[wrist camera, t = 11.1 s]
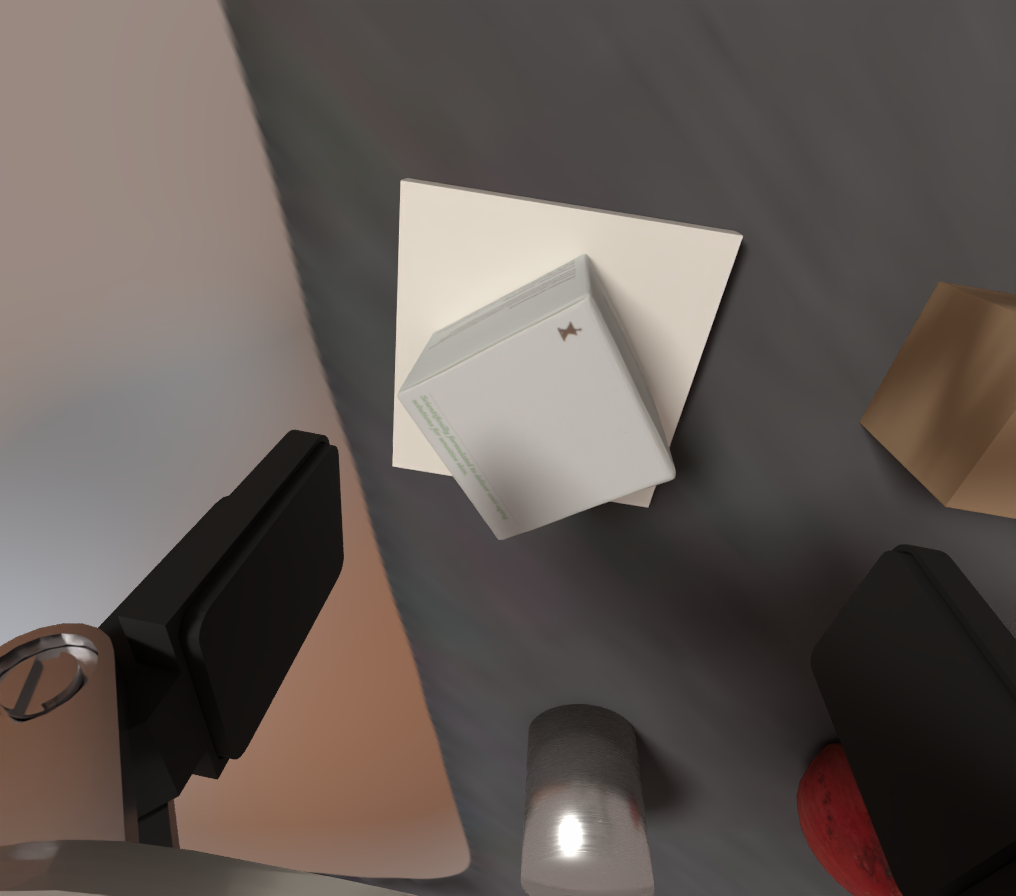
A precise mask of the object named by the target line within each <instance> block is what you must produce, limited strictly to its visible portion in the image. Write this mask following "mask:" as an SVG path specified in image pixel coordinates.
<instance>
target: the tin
mask: <svg viewBox="0 0 1016 896" xmlns="http://www.w3.org/2000/svg"><path fill="white" fill-rule="evenodd" d="M521 885H522V887H523V889H524V890H525V892H526V893H527V894H528V895H529V896H653V894H654V882H653V874H652V866H651V858H650V850H649V842H648V834H647V826H646V817H645V809H644V801H643V793H642V785H641V777H640V769H639V761H638V753H637V745H636V737H635V732H634V729H633V727H632V725H631V724H630V723H629V722H628V721H627V720H626V719H625V718H624V717H622V716H621V715H619V714H617V713H616V712H614V711H611V710H609V709H606V708H602V707H599V706H594V705H586V704H571V705H563V706H559V707H555V708H552V709H549V710H547V711H545V712H543V713H541V714H540V715H539V716H537V717H536V718H535V719H534V720H533V721H532V723H531V725H530V727H529V732H528V750H527V770H526V789H525V809H524V828H523V847H522V867H521Z"/></svg>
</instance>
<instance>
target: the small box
mask: <svg viewBox="0 0 1016 896" xmlns="http://www.w3.org/2000/svg"><path fill="white" fill-rule="evenodd" d="M397 397H398V399H399V401H400V402H401V404H402V405H403V406H404V408H405V409H406V411H407V412H408V414H409V415H410V416H411V418H412V419H413V421H414V422H415V423H416V425H417V426H418V428H419V429H420V431H421V432H422V433H423V435H424V436H425V438H426V439H427V440H428V442H429V443H430V445H431V446H432V447H433V449H434V450H435V452H436V453H437V454H438V456H439V457H440V459H441V460H442V462H443V463H444V464H445V466H446V467H447V469H448V470H449V471H450V473H451V474H452V476H453V477H454V478H455V480H456V481H457V482H458V484H459V485H460V487H461V488H462V489H463V491H464V492H465V493H466V495H467V496H468V498H469V499H470V501H471V502H472V503H473V505H474V506H475V507H476V509H477V510H478V512H479V513H480V514H481V516H482V517H483V519H484V520H485V522H486V523H487V524H488V526H489V527H490V528H491V530H492V531H493V533H494V534H495V536H496V537H497V539H499V540H503V539H506V538H509V537H512V536H515V535H518V534H521V533H524V532H527V531H530V530H533V529H535V528H539V527H541V526H544V525H547V524H549V523H552V522H555V521H557V520H560V519H563V518H565V517H568V516H570V515H573V514H576V513H579V512H581V511H584V510H587V509H589V508H592V507H595V506H597V505H600V504H603V503H606V502H609V501H612V500H615V499H617V498H620V497H623V496H626V495H629V494H632V493H635V492H638V491H641V490H644V489H647V488H650V487H653V486H656V485H659V484H662V483H665V482H668V481H671V480H673V479H674V478H675V476H676V470H675V466H674V463H673V460H672V456H671V452H670V449H669V446H668V442H667V439H666V436H665V433H664V430H663V427H662V424H661V421H660V418H659V415H658V411H657V408H656V405H655V402H654V399H653V396H652V393H651V390H650V388H649V385H648V383H647V380H646V378H645V376H644V373H643V371H642V368H641V366H640V364H639V362H638V359H637V357H636V355H635V353H634V350H633V348H632V346H631V344H630V342H629V339H628V337H627V335H626V333H625V331H624V328H623V326H622V324H621V322H620V320H619V318H618V316H617V314H616V311H615V309H614V307H613V305H612V303H611V301H610V299H609V297H608V295H607V293H606V290H605V288H604V286H603V284H602V282H601V280H600V278H599V276H598V274H597V272H596V270H595V268H594V266H593V264H592V262H591V260H590V258H589V257H588V255H587V254H582V255H580V256H579V257H577V258H575V259H573V260H571V261H569V262H568V263H566V264H564V265H562V266H560V267H558V268H556V269H555V270H553V271H551V272H549V273H547V274H545V275H543V276H541V277H539V278H537V279H536V280H534V281H532V282H530V283H528V284H526V285H524V286H522V287H520V288H518V289H516V290H514V291H513V292H511V293H509V294H507V295H505V296H503V297H501V298H499V299H498V300H496V301H494V302H492V303H490V304H488V305H486V306H484V307H482V308H480V309H478V310H476V311H474V312H472V313H471V314H469V315H467V316H465V317H463V318H461V319H459V320H457V321H455V322H453V323H451V324H449V325H447V326H446V327H444V328H442V329H439V330H437V331H435V332H434V333H433V334H432V336H431V338H430V339H429V341H428V343H427V344H426V346H425V348H424V349H423V351H422V353H421V354H420V356H419V358H418V359H417V361H416V363H415V364H414V366H413V368H412V370H411V371H410V373H409V374H408V376H407V378H406V380H405V381H404V383H403V385H402V386H401V388H400V390H399V392H398V394H397Z"/></svg>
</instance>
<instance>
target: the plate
mask: <svg viewBox="0 0 1016 896" xmlns="http://www.w3.org/2000/svg"><path fill="white" fill-rule="evenodd" d="M742 238H743V235H741V234H739V233H738V232H736V231H731V230H725V229H719V228H713V227H707V226H700V225H694V224H688V223H682V222H676V221H669V220H663V219H657V218H651V217H645V216H639V215H632V214H626V213H620V212H614V211H608V210H602V209H595V208H589V207H583V206H577V205H571V204H565V203H558V202H552V201H546V200H540V199H534V198H527V197H521V196H515V195H509V194H503V193H497V192H490V191H484V190H478V189H472V188H466V187H460V186H453V185H447V184H441V183H435V182H429V181H423V180H416V179H410V178H406V179H403V180H401V189H400V224H399V259H398V294H397V329H396V364H395V398H394V433H393V466H394V467H400V468H406V469H412V470H418V471H425V472H431V473H437V474H443V475H449V476H452V474H451V473H450V471H449V470H448V469H447V467H446V466H445V464H444V463H443V462H442V460H441V459H440V457H439V456H438V454H437V453H436V452H435V450H434V449H433V447H432V446H431V445H430V443H429V442H428V440H427V439H426V438H425V436H424V435H423V433H422V432H421V431H420V429H419V428H418V426H417V425H416V423H415V422H414V421H413V419H412V418H411V416H410V415H409V414H408V412H407V411H406V409H405V408H404V406H403V405H402V404H401V402H400V401H399V399H398V397H397V394H398V392H399V390H400V388H401V386H402V385H403V383H404V381H405V380H406V378H407V376H408V374H409V373H410V371H411V370H412V368H413V366H414V364H415V363H416V361H417V359H418V358H419V356H420V354H421V353H422V351H423V349H424V348H425V346H426V344H427V343H428V341H429V339H430V338H431V336H432V334H433V333H434V332H435V331H437V330H439V329H442V328H444V327H446V326H447V325H449V324H451V323H453V322H455V321H457V320H459V319H461V318H463V317H465V316H467V315H469V314H471V313H472V312H474V311H476V310H478V309H480V308H482V307H484V306H486V305H488V304H490V303H492V302H494V301H496V300H498V299H499V298H501V297H503V296H505V295H507V294H509V293H511V292H513V291H514V290H516V289H518V288H520V287H522V286H524V285H526V284H528V283H530V282H532V281H534V280H536V279H537V278H539V277H541V276H543V275H545V274H547V273H549V272H551V271H553V270H555V269H556V268H558V267H560V266H562V265H564V264H566V263H568V262H569V261H571V260H573V259H575V258H577V257H579V256H580V255H582V254H587V255H588V257H589V258H590V260H591V262H592V264H593V266H594V268H595V270H596V272H597V274H598V276H599V278H600V280H601V282H602V284H603V286H604V288H605V290H606V293H607V295H608V297H609V299H610V301H611V303H612V305H613V307H614V309H615V311H616V314H617V316H618V318H619V320H620V322H621V324H622V326H623V328H624V331H625V333H626V335H627V337H628V339H629V342H630V344H631V346H632V348H633V350H634V353H635V355H636V357H637V359H638V362H639V364H640V366H641V368H642V371H643V373H644V376H645V378H646V380H647V383H648V385H649V388H650V390H651V393H652V396H653V399H654V402H655V405H656V408H657V411H658V415H659V418H660V421H661V424H662V427H663V430H664V433H665V436H666V439H667V442H668V446H669V447H670V444H671V441H672V438H673V435H674V433H675V430H676V427H677V424H678V421H679V418H680V415H681V412H682V410H683V407H684V404H685V401H686V398H687V395H688V392H689V390H690V387H691V384H692V381H693V378H694V375H695V372H696V370H697V367H698V364H699V361H700V358H701V355H702V352H703V349H704V347H705V344H706V341H707V338H708V335H709V332H710V329H711V327H712V324H713V321H714V318H715V315H716V312H717V309H718V306H719V304H720V301H721V298H722V295H723V292H724V289H725V286H726V284H727V281H728V278H729V275H730V272H731V269H732V266H733V264H734V261H735V258H736V255H737V252H738V249H739V246H740V243H741V241H742ZM655 487H656V486H653V487H650V488H647V489H644V490H641V491H638V492H635V493H632V494H629V495H626V496H623V497H620V498H617V499H615V500H612V501H610V502H617V503H623V504H629V505H635V506H641V507H649V504H650V501H651V498H652V496H653V493H654V490H655Z"/></svg>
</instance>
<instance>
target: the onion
mask: <svg viewBox="0 0 1016 896" xmlns="http://www.w3.org/2000/svg"><path fill="white" fill-rule="evenodd" d="M797 809H798V814H799V820H800V825H801V829H802V831H803V833H804V836H805V838H806V840H807V843H808V845H809V847H810V848H811V850H812V851H813V853H814V855H815V856H816V858H817V859H818V861H819V862H820V863H821V864H822V866H823V867H824V868H825V869H826V871H827V872H828V873H829V874H830V875H831V876H832V877H833V878H834V879H835V880H836V881H837V882H838V883H839V884H840V885H842V886H843V887H844V888H845V889H846V890H847V891H849V892H850V893H851V894H852V895H854V896H903V895H902V894H901V892H900V891H899V889H898V887H897V885H896V883H895V880H894V878H893V875H892V873H891V870H890V868H889V865H888V863H887V860H886V857H885V855H884V852H883V850H882V847H881V845H880V842H879V840H878V837H877V834H876V832H875V829H874V827H873V824H872V822H871V819H870V817H869V814H868V811H867V809H866V806H865V804H864V801H863V799H862V796H861V793H860V791H859V788H858V786H857V783H856V781H855V778H854V776H853V773H852V770H851V768H850V765H849V763H848V760H847V758H846V755H845V753H844V750H843V747H842V745H841V744H839V743H831V744H828V745H826V746H825V747H824V748H823V749H822V751H821V753H819V754H818V755H817V756H816V758H815V759H814V760H813V761H812V762H811V764H810V765H809V767H808V769H807V770H806V772H805V774H804V775H803V777H802V779H801V780H800V783H799V788H798V792H797Z"/></svg>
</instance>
